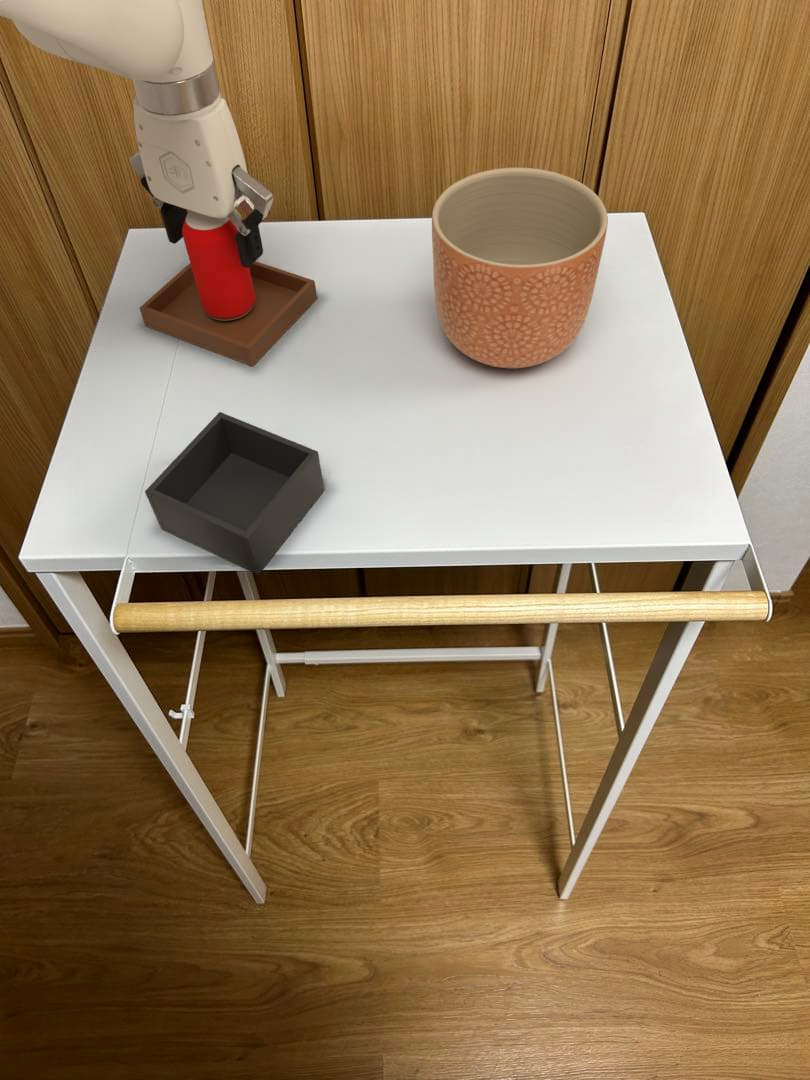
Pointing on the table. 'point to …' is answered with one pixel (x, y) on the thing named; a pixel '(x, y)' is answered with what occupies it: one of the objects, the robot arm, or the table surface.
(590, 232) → the planter
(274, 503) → the bin
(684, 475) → the table surface
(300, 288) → the tray
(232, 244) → the beverage can
